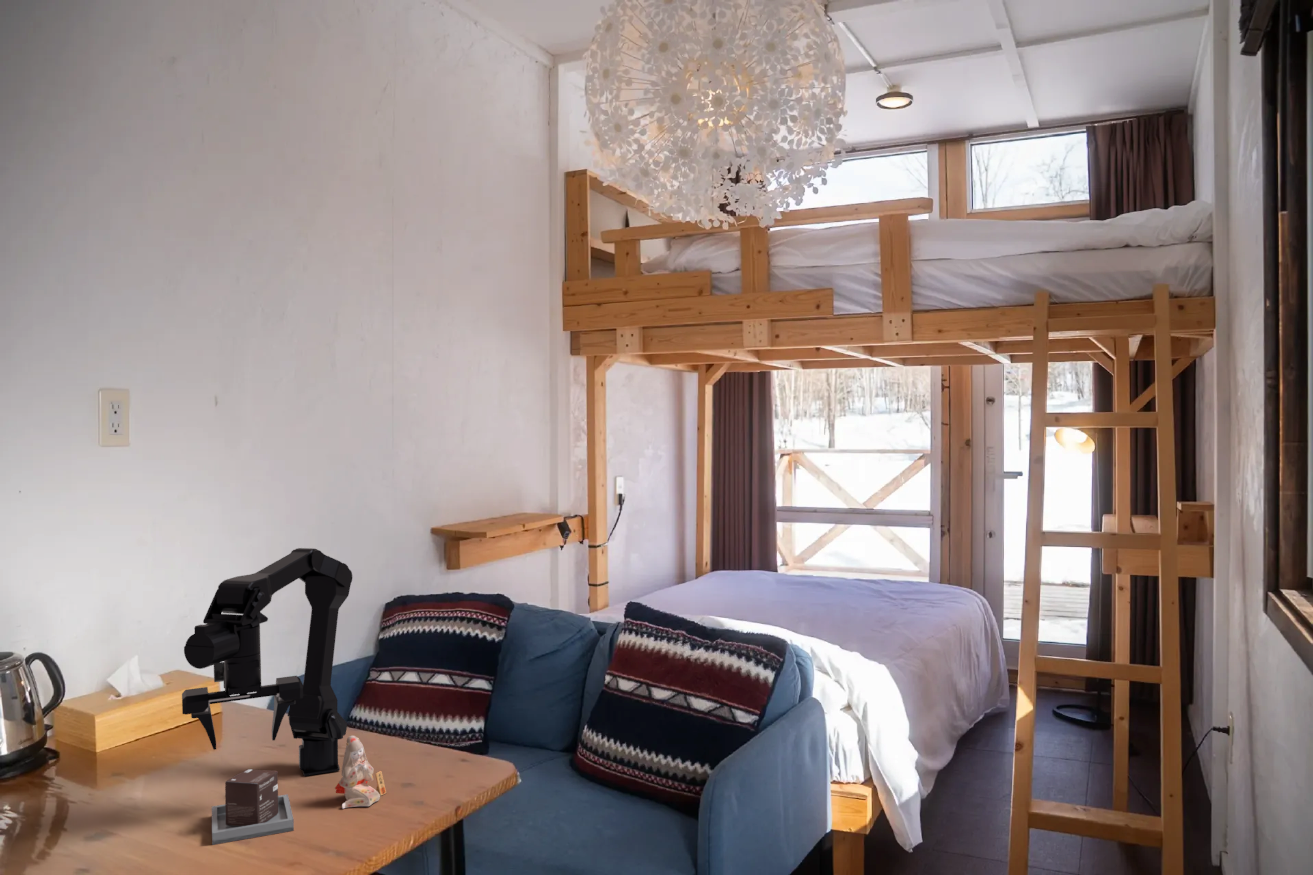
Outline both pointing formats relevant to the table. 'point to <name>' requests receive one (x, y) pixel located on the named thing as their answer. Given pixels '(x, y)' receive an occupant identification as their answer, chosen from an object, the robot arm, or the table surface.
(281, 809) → the tray
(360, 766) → the figurine
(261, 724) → the table surface
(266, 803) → the box
